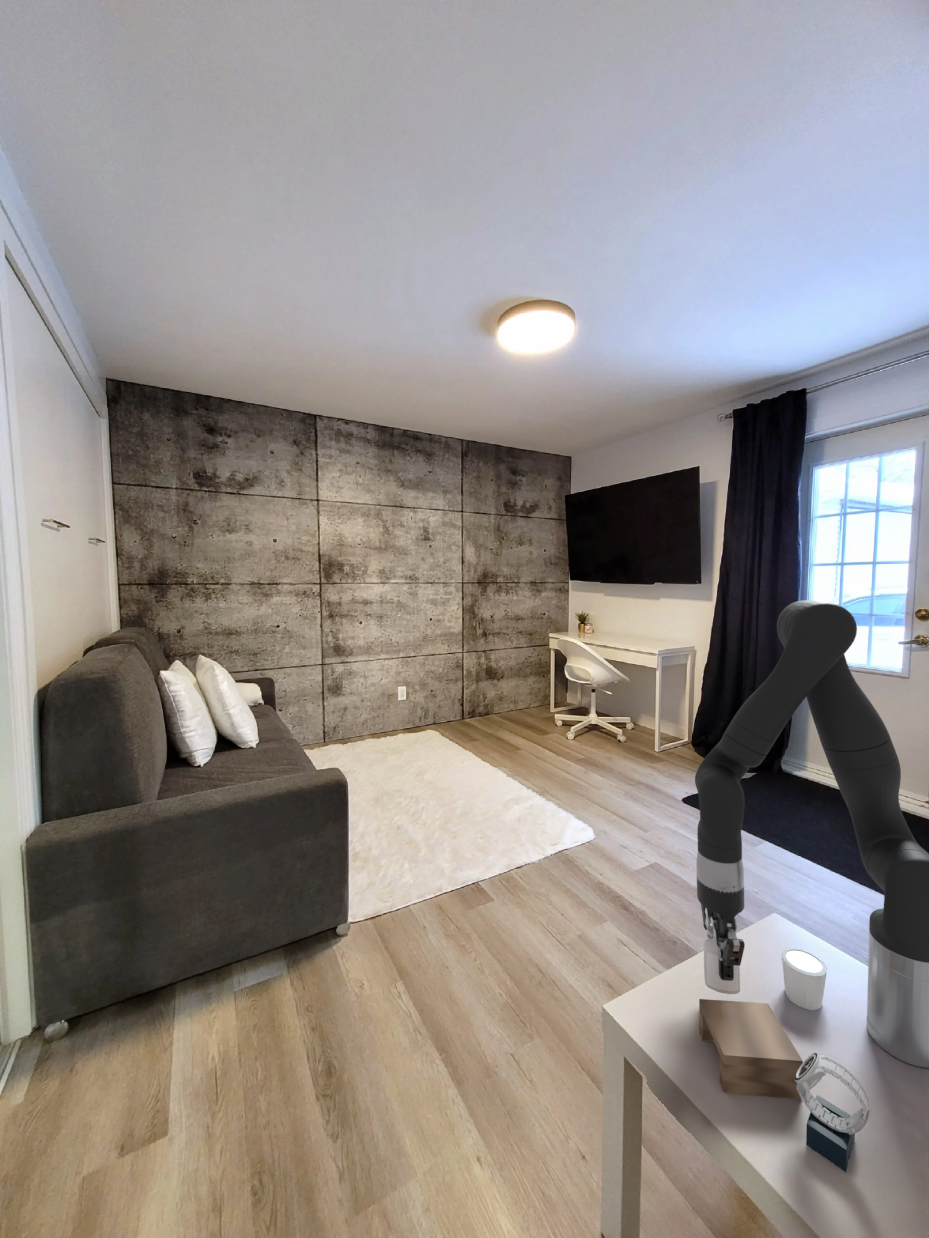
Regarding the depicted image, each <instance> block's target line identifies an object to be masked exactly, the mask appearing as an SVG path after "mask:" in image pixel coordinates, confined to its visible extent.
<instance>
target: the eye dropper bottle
mask: <svg viewBox="0 0 929 1238" xmlns="http://www.w3.org/2000/svg"><path fill="white" fill-rule="evenodd" d="M719 939H723V938H719ZM725 940H726V939H725ZM724 948H725V947H724ZM724 948H723V953H724ZM740 969H741V968H740V966H736V965H734V979H733V980H732V981H728V980H722V979H721V978H720V976H719V957H718V946H717V945H716V943H715V942H714V934H713V938H710V939H708V938H707V939H705V940H704V941H703V979H704V983H705V986H706V987H707V989H710V990H712V991H715V992H718V993H721V994H726V995H737V994H739V993H740V992H741V978H740V977H741V973H740Z"/></svg>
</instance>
